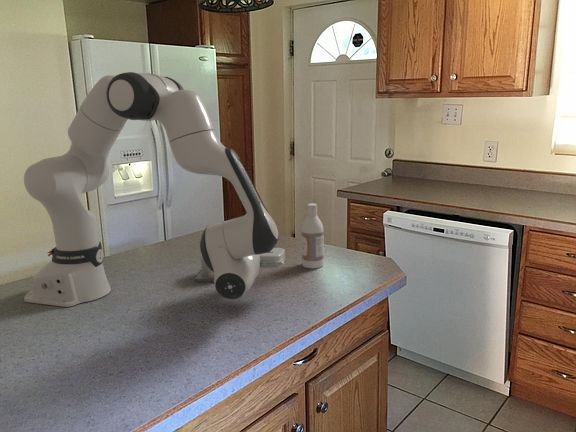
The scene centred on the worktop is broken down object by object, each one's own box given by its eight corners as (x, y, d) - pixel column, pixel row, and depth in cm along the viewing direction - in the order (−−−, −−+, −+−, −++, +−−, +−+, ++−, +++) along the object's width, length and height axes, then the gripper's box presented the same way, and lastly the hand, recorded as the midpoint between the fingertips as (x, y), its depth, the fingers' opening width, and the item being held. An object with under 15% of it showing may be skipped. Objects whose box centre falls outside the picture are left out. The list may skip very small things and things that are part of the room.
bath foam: (298, 263, 160) (297, 203, 155) (317, 260, 162) (317, 201, 158) (307, 270, 154) (306, 207, 149) (327, 267, 156) (327, 205, 151)
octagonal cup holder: (194, 282, 146) (193, 261, 145) (205, 268, 158) (204, 248, 156) (234, 282, 145) (233, 261, 143) (242, 268, 156) (241, 249, 155)
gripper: (283, 253, 126) (288, 238, 140) (204, 251, 128) (217, 236, 142) (283, 276, 128) (288, 259, 141) (205, 274, 130) (218, 257, 143)
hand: (252, 247), depth 142 cm, fingers closed on smoothie, 6 cm apart
